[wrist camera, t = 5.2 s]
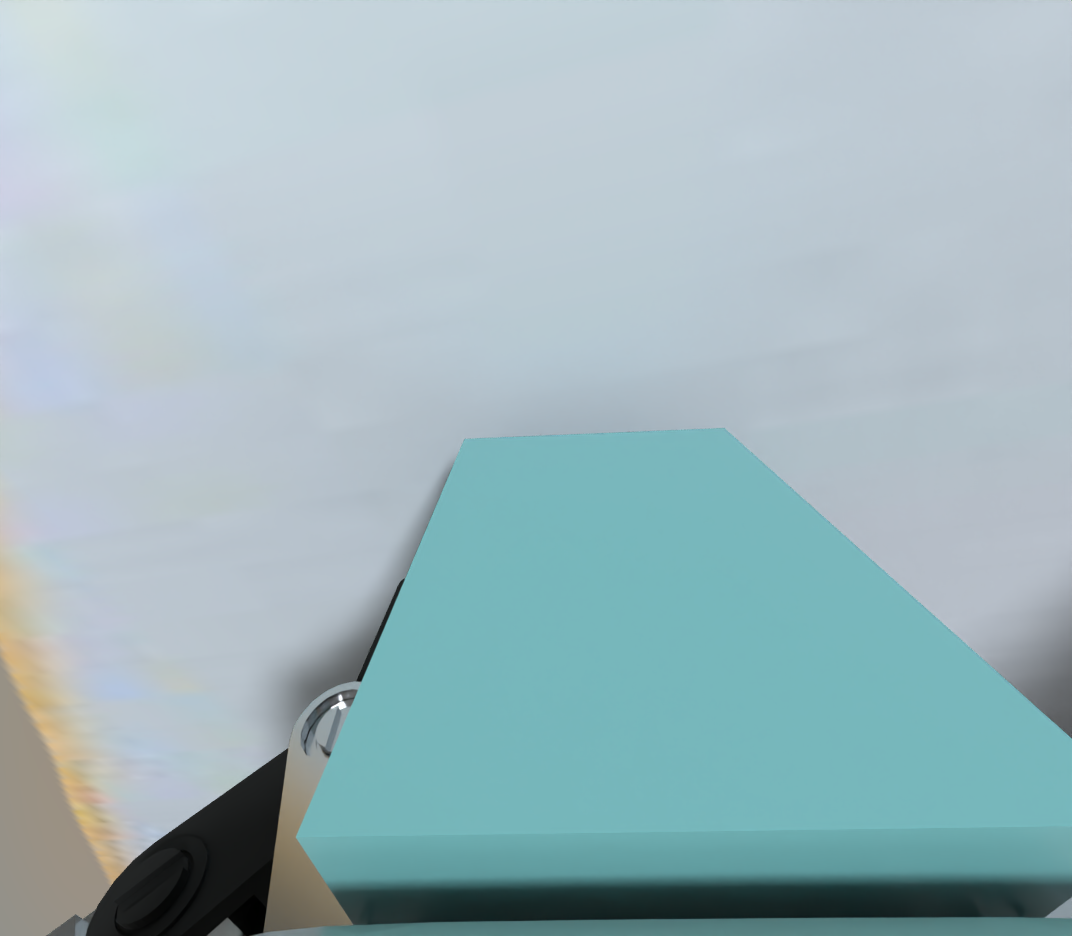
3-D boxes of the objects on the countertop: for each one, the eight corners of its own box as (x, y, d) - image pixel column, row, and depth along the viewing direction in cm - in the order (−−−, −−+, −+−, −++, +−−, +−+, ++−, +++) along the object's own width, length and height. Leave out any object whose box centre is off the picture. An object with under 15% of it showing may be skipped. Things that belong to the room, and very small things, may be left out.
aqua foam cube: (464, 439, 10) (295, 837, 3) (724, 428, 10) (1166, 824, 3) (489, 623, 13) (432, 1044, 6) (691, 617, 12) (873, 1043, 6)
